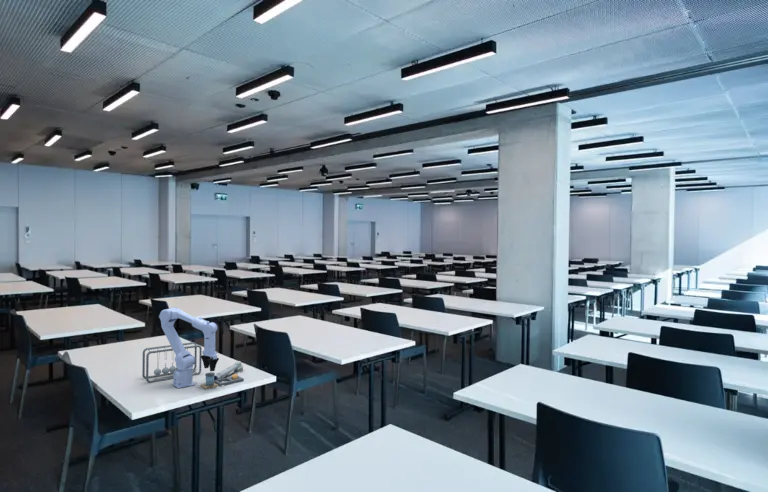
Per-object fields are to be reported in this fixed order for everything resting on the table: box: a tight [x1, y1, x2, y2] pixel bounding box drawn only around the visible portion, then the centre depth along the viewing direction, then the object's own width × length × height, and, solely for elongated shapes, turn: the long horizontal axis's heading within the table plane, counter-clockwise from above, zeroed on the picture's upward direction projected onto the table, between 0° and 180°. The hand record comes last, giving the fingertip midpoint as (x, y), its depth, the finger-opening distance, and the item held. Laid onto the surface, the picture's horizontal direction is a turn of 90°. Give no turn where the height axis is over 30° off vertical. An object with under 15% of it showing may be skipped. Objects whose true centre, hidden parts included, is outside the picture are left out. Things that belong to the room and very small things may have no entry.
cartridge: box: [204, 371, 216, 386], centre depth 247 cm, size 5×5×6 cm
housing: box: [214, 375, 245, 387], centre depth 255 cm, size 14×8×2 cm, turn 135°
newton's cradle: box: [141, 342, 203, 384], centre depth 263 cm, size 30×10×18 cm, turn 130°
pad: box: [200, 382, 219, 390], centre depth 246 cm, size 7×7×1 cm
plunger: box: [231, 373, 239, 380], centre depth 257 cm, size 3×3×3 cm
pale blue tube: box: [214, 360, 244, 380], centre depth 267 cm, size 5×7×25 cm
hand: (209, 369), depth 246 cm, fingers open, 7 cm apart
